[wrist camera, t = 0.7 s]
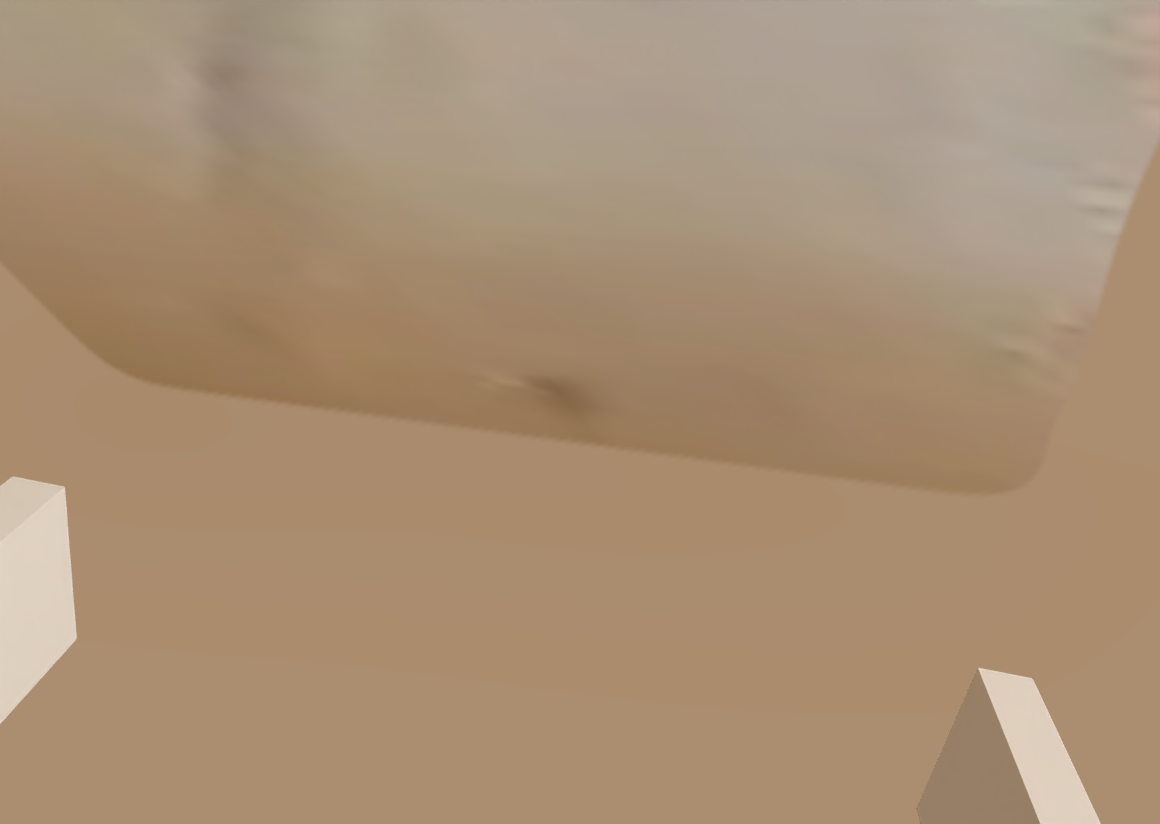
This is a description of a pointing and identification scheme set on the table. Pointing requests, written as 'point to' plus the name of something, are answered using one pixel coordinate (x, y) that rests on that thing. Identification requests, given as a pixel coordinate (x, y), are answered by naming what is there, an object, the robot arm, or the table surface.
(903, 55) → the table surface
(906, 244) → the table surface
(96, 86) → the table surface
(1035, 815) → the robot arm
